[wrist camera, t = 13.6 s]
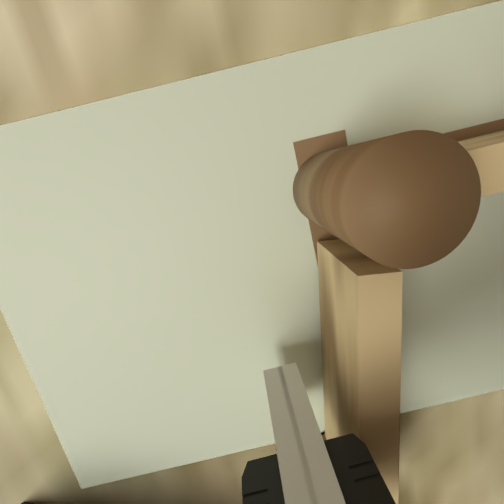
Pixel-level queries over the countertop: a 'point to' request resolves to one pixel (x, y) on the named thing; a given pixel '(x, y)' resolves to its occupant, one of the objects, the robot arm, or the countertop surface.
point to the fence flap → (361, 352)
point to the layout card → (233, 244)
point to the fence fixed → (401, 193)
